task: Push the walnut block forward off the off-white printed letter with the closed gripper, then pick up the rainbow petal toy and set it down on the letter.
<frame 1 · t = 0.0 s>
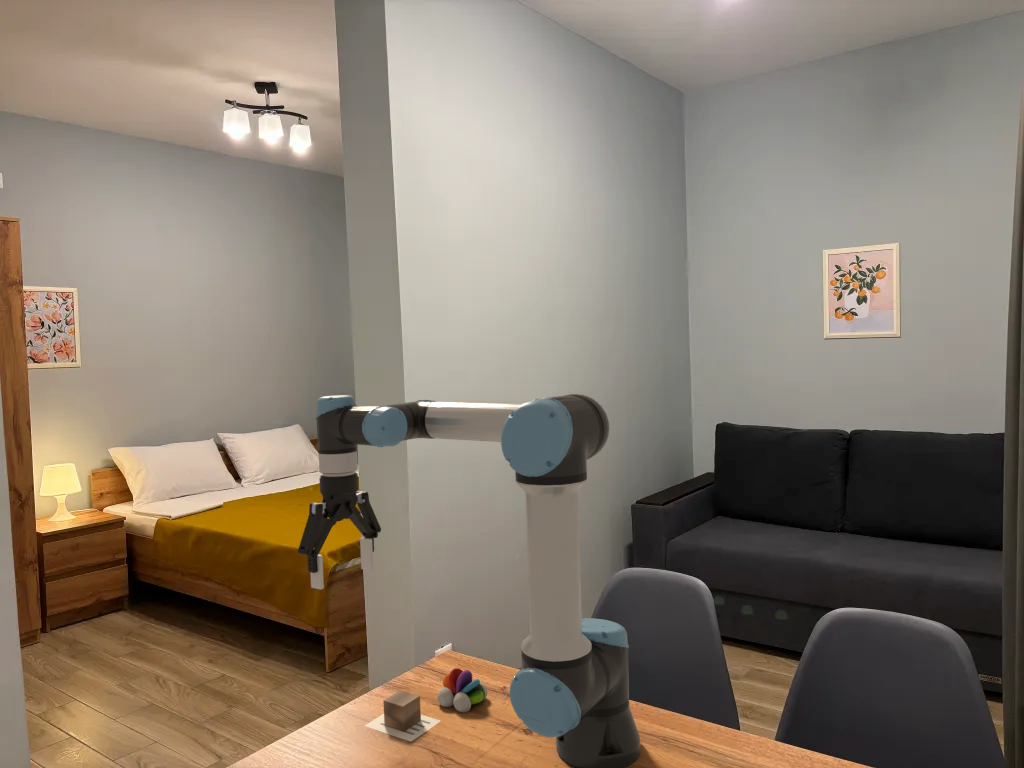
hand: (343, 578, 151), 28 cm above the table, fingers open, 13 cm apart
letter: (402, 724, 148), on the table
walnut block: (402, 723, 148), resting on letter
rainbow petal toy: (463, 705, 156), on the table
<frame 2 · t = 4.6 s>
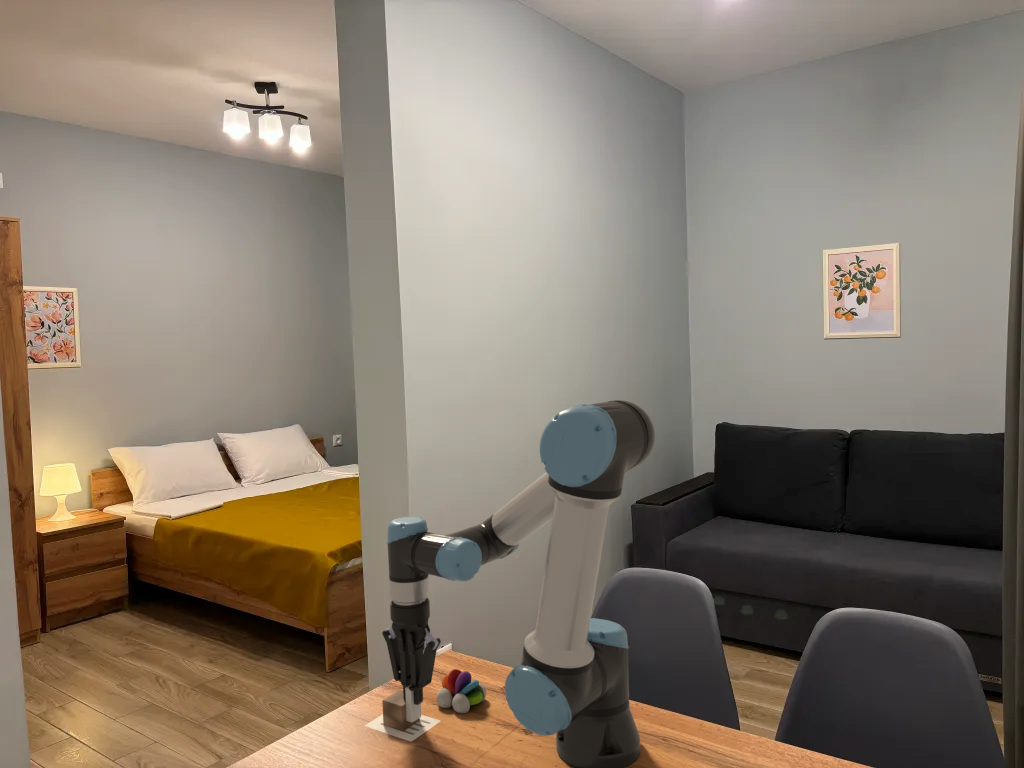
hand: (413, 718, 146), 2 cm above the table, fingers closed
walnut block: (401, 722, 148), resting on letter, touching gripper
everything else where it was.
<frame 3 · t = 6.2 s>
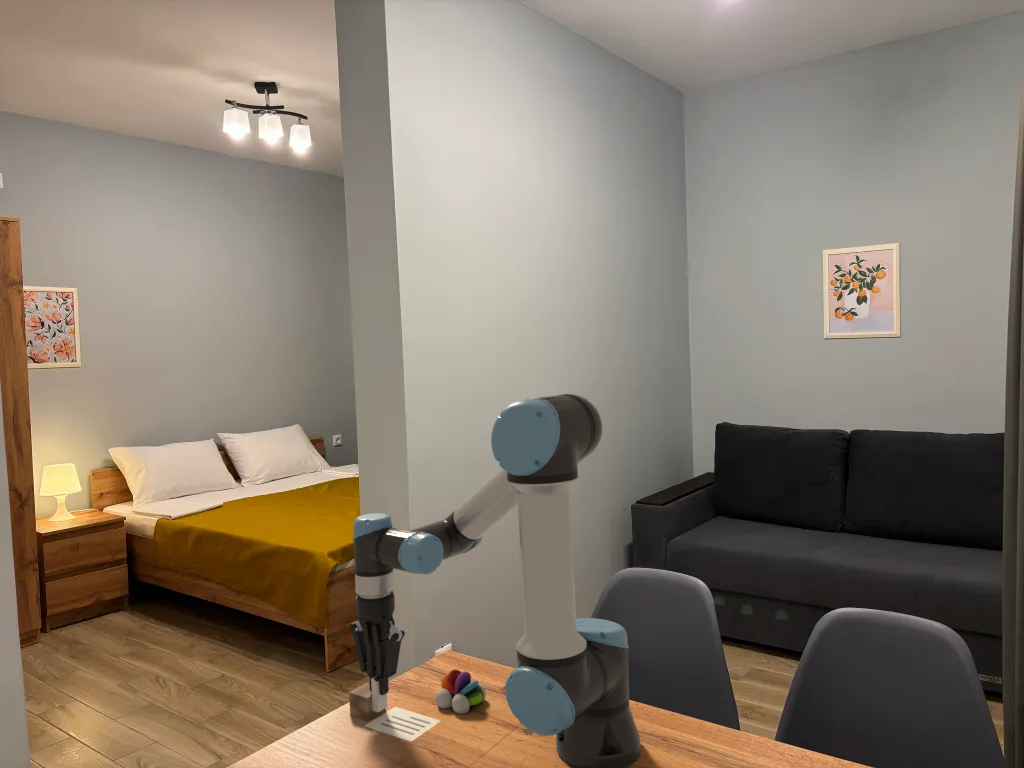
hand: (379, 708, 151), 2 cm above the table, fingers closed
walnut block: (368, 714, 152), on the table, touching gripper
everything else where it was.
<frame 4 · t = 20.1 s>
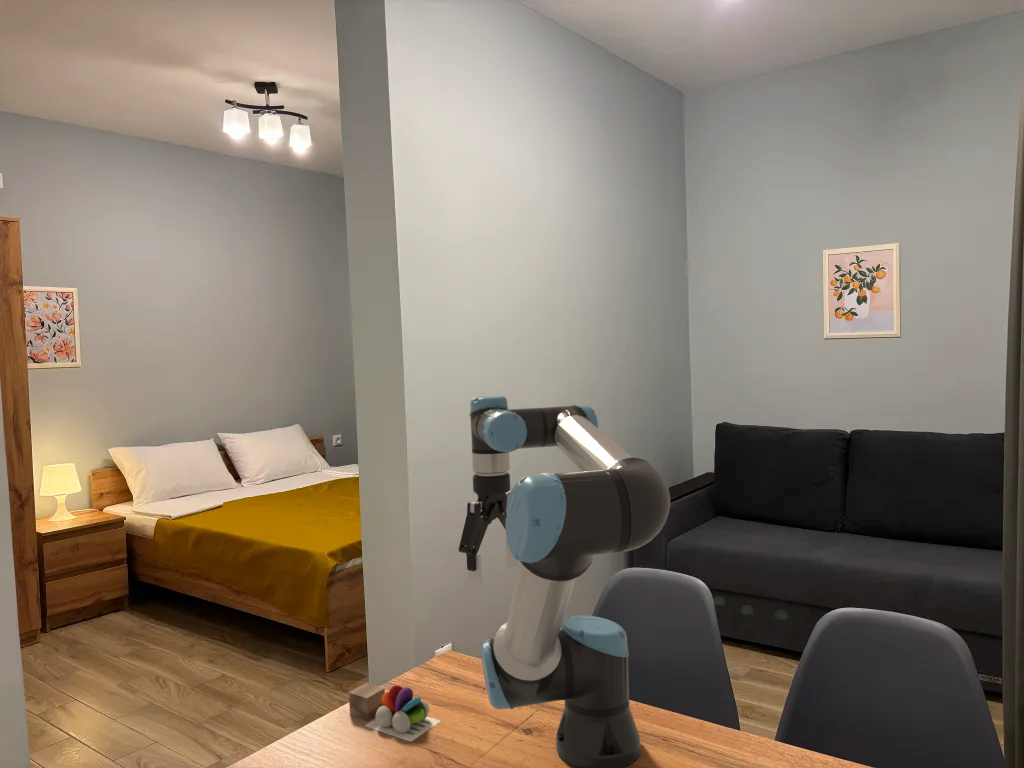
hand: (494, 576, 153), 27 cm above the table, fingers open, 13 cm apart
walnut block: (367, 714, 152), on the table
rainbow petal toy: (403, 724, 147), resting on letter
at the end: rainbow petal toy 0.1 cm from the letter (horizontally); walnut block inside the target area on the table beside the letter (6.6 cm from its centre), on the table; the gripper is holding nothing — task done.
